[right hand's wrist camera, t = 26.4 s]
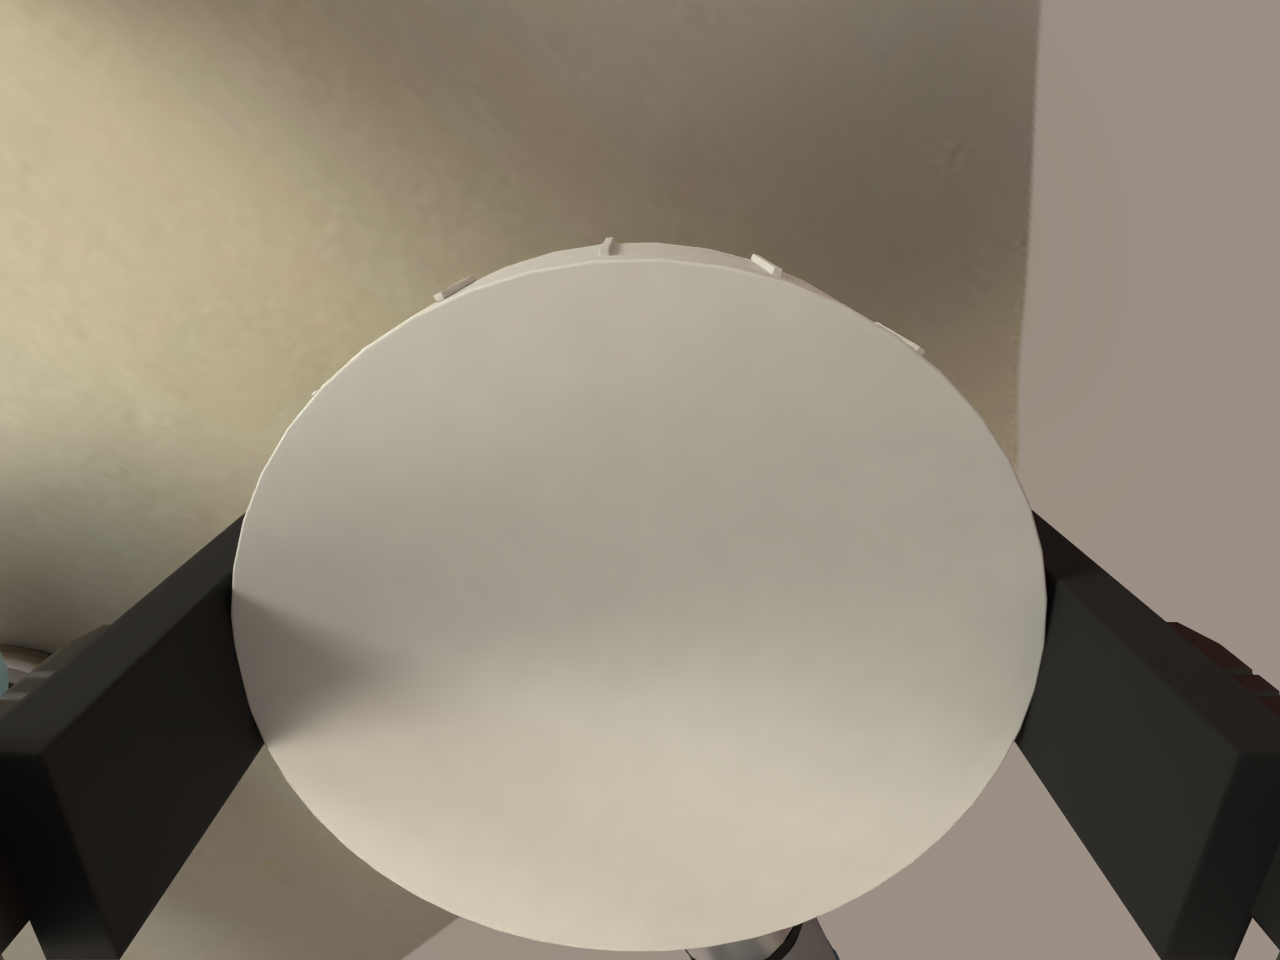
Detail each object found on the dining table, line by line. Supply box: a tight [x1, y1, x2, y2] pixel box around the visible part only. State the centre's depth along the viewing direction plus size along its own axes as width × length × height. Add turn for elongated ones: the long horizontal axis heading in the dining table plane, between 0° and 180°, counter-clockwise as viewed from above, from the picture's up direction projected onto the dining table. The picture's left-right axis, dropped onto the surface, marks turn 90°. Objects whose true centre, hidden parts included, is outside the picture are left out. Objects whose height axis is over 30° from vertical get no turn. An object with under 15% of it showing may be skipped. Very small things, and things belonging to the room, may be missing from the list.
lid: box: [231, 237, 1047, 952], centre depth 11 cm, size 11×11×2 cm
